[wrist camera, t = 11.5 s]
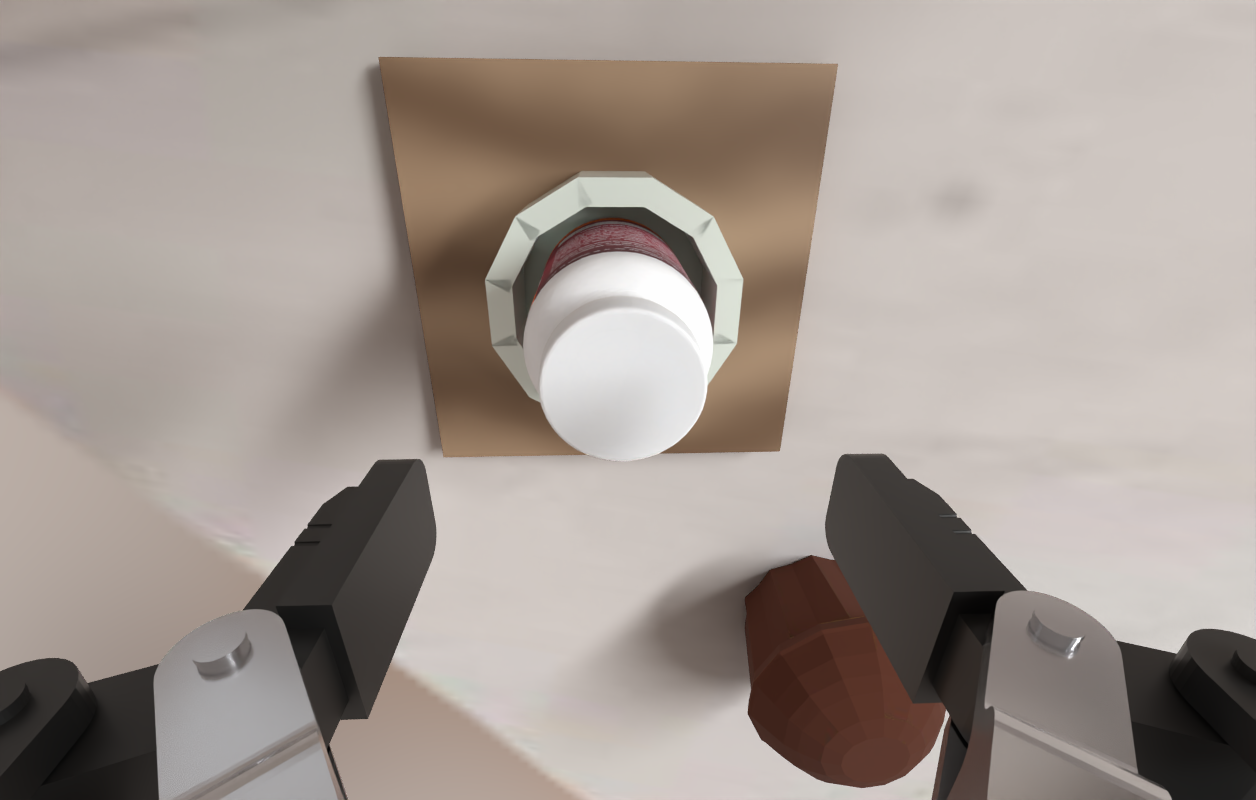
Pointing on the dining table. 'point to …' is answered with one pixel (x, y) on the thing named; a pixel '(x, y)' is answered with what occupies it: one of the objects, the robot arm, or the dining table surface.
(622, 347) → the pill bottle
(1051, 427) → the dining table surface
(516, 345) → the pale green bowl
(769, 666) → the muffin
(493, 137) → the walnut board
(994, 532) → the dining table surface
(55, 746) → the robot arm
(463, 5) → the dining table surface
